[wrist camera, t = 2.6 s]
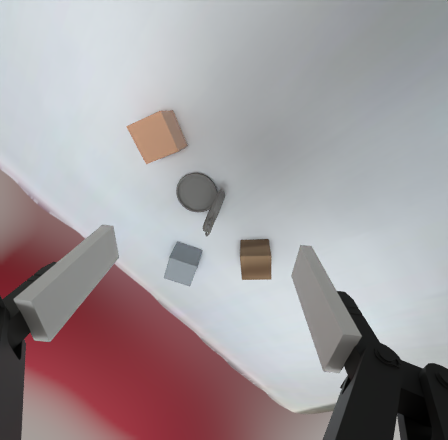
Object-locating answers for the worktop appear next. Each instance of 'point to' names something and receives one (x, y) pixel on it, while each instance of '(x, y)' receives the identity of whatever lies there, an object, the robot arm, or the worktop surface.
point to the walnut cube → (255, 259)
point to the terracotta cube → (157, 136)
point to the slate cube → (183, 264)
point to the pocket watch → (200, 197)
